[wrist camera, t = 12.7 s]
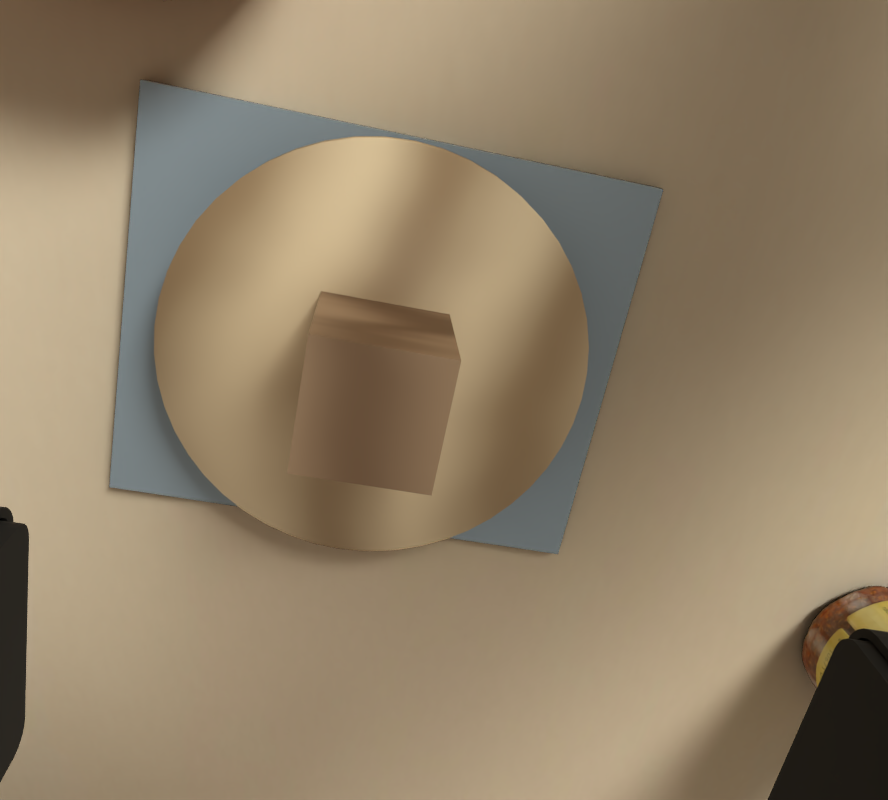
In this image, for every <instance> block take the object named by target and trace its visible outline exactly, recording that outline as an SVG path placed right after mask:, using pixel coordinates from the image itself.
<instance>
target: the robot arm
mask: <svg viewBox="0 0 888 800" xmlns="http://www.w3.org/2000/svg"><path fill="white" fill-rule="evenodd" d="M28 552H29V533H28V528H27V526H26V525H25V524H22V523H15V522H13V516H12V513H11V511H10V510H9V509H8V508H6V507H0V782H1V780H2V778H3V776H4V774H5V773H6V771H7V769H8V767H9V765H10V763H11V762H12V760H13V758H14V756H15V754H16V752H17V749H18V747H19V744H20V741H21V737H22V734H23V729H24V722H25V690H26V644H27V598H28ZM768 800H888V632H886V631H879V630H872V629H865V628H863V629H858V630H856V631H855V632H853V633H852V634H851V635H850V637H849V638H847V639H842V640H841V641H840V642H838V644H837V645H836V647H835V648H834V651H833V653H832V655H831V657H830V660H829V662H828V664H827V666H826V669H825V671H824V673H823V676H822V678H821V680H820V682H819V685H818V687H817V689H816V691H815V694H814V696H813V698H812V700H811V703H810V705H809V707H808V710H807V712H806V714H805V716H804V719H803V721H802V723H801V725H800V728H799V730H798V732H797V734H796V737H795V739H794V741H793V744H792V746H791V748H790V750H789V753H788V755H787V757H786V759H785V762H784V764H783V766H782V768H781V771H780V773H779V775H778V778H777V780H776V782H775V784H774V787H773V789H772V791H771V793H770V796H769V798H768Z"/></svg>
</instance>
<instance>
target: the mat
mask: <svg viewBox="0 0 888 800" xmlns="http://www.w3.org/2000/svg"><path fill="white" fill-rule="evenodd" d="M354 136H386V137H393V138H400V139H408V140H415V141H418V142H422V143H426V144H429V145H433V146H436V147H440V148H443V149H446V150H448V151H450V152H453V153H455V154H457V155H460V156H462V157H464V158H467V159H469V160H471V161H473V162H474V163H476V164H478V165H479V166H481V167H483V168H484V169H486V170H488V171H489V172H491V173H493V174H494V175H496V176H497V177H498V178H500V179H501V180H502V181H503V182H505V183H506V184H507V185H508V186H510V187H511V188H512V189H513V190H514V191H516V192H517V193H518V194H519V195H520V196H521V197H522V198H523V199H524V200H525V201H526V202H527V203H528V204H529V205H530V206H531V207H532V208H533V209H534V210H535V211H536V212H537V214H538V215H539V216H540V217H541V218H542V219H543V220H544V222H545V223H546V224H547V226H548V227H549V229H550V230H551V231H552V233H553V234H554V236H555V237H556V239H557V240H558V241H559V243H560V245H561V247H562V249H563V251H564V253H565V254H566V256H567V258H568V260H569V262H570V264H571V266H572V268H573V271H574V274H575V277H576V279H577V282H578V285H579V288H580V291H581V293H582V298H583V303H584V308H585V313H586V317H587V326H588V341H589V353H588V367H587V376H586V381H585V386H584V391H583V396H582V400H581V403H580V406H579V408H578V411H577V414H576V417H575V420H574V423H573V425H572V427H571V429H570V431H569V433H568V435H567V437H566V439H565V441H564V443H563V445H562V447H561V448H560V450H559V451H558V453H557V454H556V456H555V457H554V459H553V460H552V462H551V463H550V465H549V466H548V467H547V469H546V470H545V471H544V472H543V473H542V474H541V476H540V477H539V478H538V479H537V480H536V481H535V482H534V484H533V485H532V486H531V487H530V488H529V489H528V490H527V491H525V492H524V493H523V494H522V495H521V496H520V497H519V498H518V499H516V500H515V501H514V502H513V503H512V504H511V505H509V506H508V507H506V508H505V509H504V510H502V511H501V512H499V513H498V514H496V515H495V516H493V517H492V518H491V519H489V520H487V521H485V522H483V523H481V524H479V525H478V526H476V527H474V528H472V529H470V530H468V531H466V532H463V533H461V534H458V535H456V536H453V537H450V538H453V539H460V540H467V541H473V542H480V543H487V544H494V545H500V546H507V547H514V548H520V549H527V550H534V551H540V552H547V553H554V554H558V552H559V549H560V545H561V542H562V539H563V535H564V532H565V528H566V525H567V521H568V518H569V514H570V511H571V507H572V504H573V500H574V497H575V494H576V490H577V487H578V483H579V480H580V476H581V473H582V469H583V466H584V462H585V459H586V455H587V452H588V449H589V445H590V442H591V438H592V435H593V431H594V428H595V424H596V421H597V417H598V414H599V410H600V407H601V404H602V400H603V397H604V393H605V390H606V386H607V383H608V379H609V376H610V372H611V369H612V365H613V362H614V359H615V355H616V352H617V348H618V345H619V341H620V338H621V334H622V331H623V327H624V324H625V320H626V317H627V314H628V310H629V307H630V303H631V300H632V296H633V293H634V289H635V286H636V282H637V279H638V275H639V272H640V269H641V265H642V262H643V258H644V255H645V251H646V248H647V244H648V241H649V237H650V234H651V230H652V227H653V224H654V220H655V217H656V213H657V210H658V206H659V203H660V199H661V196H662V192H663V189H661V188H657V187H653V186H648V185H643V184H638V183H634V182H629V181H624V180H619V179H615V178H610V177H605V176H600V175H596V174H591V173H586V172H581V171H577V170H572V169H567V168H562V167H558V166H553V165H548V164H543V163H538V162H534V161H529V160H524V159H519V158H515V157H510V156H505V155H500V154H496V153H491V152H486V151H481V150H477V149H472V148H467V147H462V146H458V145H453V144H448V143H443V142H439V141H434V140H429V139H424V138H420V137H415V136H410V135H405V134H401V133H396V132H391V131H386V130H381V129H377V128H372V127H367V126H362V125H358V124H353V123H348V122H343V121H339V120H334V119H329V118H324V117H320V116H315V115H310V114H305V113H301V112H296V111H291V110H286V109H282V108H277V107H272V106H267V105H263V104H258V103H253V102H248V101H244V100H239V99H234V98H229V97H224V96H220V95H215V94H210V93H205V92H201V91H196V90H191V89H186V88H182V87H177V86H172V85H167V84H163V83H158V82H153V81H148V80H140V90H139V103H138V116H137V129H136V143H135V156H134V169H133V182H132V195H131V209H130V222H129V235H128V248H127V261H126V275H125V288H124V301H123V314H122V327H121V340H120V354H119V367H118V380H117V393H116V406H115V420H114V433H113V446H112V459H111V472H110V486H109V487H112V488H118V489H125V490H132V491H138V492H145V493H152V494H158V495H165V496H172V497H179V498H185V499H192V500H199V501H205V502H212V503H219V504H225V505H232V506H237V505H236V504H235V503H233V502H232V501H231V500H229V499H228V498H227V497H226V496H224V495H223V494H222V493H221V492H220V491H219V490H218V489H217V488H216V487H215V486H214V485H213V484H212V483H211V482H210V481H209V480H208V479H207V478H206V477H205V476H204V474H203V473H202V472H201V471H200V469H199V468H198V467H197V465H196V464H195V463H194V461H193V460H192V459H191V457H190V456H189V455H188V453H187V452H186V450H185V448H184V446H183V445H182V443H181V441H180V440H179V438H178V436H177V434H176V433H175V431H174V428H173V426H172V424H171V421H170V419H169V416H168V414H167V412H166V409H165V407H164V403H163V400H162V396H161V392H160V388H159V385H158V381H157V373H156V365H155V357H154V325H155V319H156V313H157V306H158V300H159V296H160V293H161V289H162V286H163V283H164V280H165V277H166V273H167V270H168V268H169V266H170V264H171V262H172V260H173V258H174V256H175V254H176V252H177V249H178V247H179V245H180V244H181V242H182V241H183V239H184V238H185V236H186V235H187V233H188V232H189V230H190V229H191V227H192V226H193V224H194V223H195V221H196V220H197V219H198V218H199V217H200V216H201V215H202V213H203V212H204V211H205V210H206V209H207V208H208V207H209V206H210V205H211V203H212V202H213V201H214V200H215V199H216V198H217V197H218V196H220V195H221V194H222V193H223V192H224V191H226V190H227V189H228V188H229V187H230V186H232V185H233V184H234V183H235V182H236V181H238V180H239V179H240V178H242V177H243V176H244V175H246V174H248V173H249V172H251V171H253V170H254V169H256V168H257V167H259V166H261V165H262V164H264V163H266V162H267V161H269V160H271V159H273V158H276V157H278V156H280V155H282V154H285V153H287V152H289V151H292V150H294V149H296V148H300V147H303V146H307V145H311V144H314V143H318V142H321V141H325V140H332V139H339V138H346V137H354Z"/></svg>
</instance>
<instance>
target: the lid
mask: <svg viewBox="0 0 888 800" xmlns="http://www.w3.org/2000/svg"><path fill="white" fill-rule="evenodd" d="M588 353H589V341H588V326H587V317H586V313H585V308H584V303H583V298H582V293H581V291H580V288H579V285H578V282H577V279H576V277H575V274H574V271H573V268H572V266H571V264H570V262H569V260H568V258H567V256H566V254H565V253H564V251H563V249H562V247H561V245H560V243H559V241H558V240H557V239H556V237H555V236H554V234H553V233H552V231H551V230H550V229H549V227H548V226H547V224H546V223H545V222H544V220H543V219H542V218H541V217H540V216H539V215H538V214H537V212H536V211H535V210H534V209H533V208H532V207H531V206H530V205H529V204H528V203H527V202H526V201H525V200H524V199H523V198H522V197H521V196H520V195H519V194H518V193H517V192H516V191H514V190H513V189H512V188H511V187H510V186H508V185H507V184H506V183H505V182H503V181H502V180H501V179H500V178H498V177H497V176H496V175H494V174H493V173H491V172H489V171H488V170H486V169H484V168H483V167H481V166H479V165H478V164H476V163H474V162H473V161H471V160H469V159H467V158H464V157H462V156H460V155H457V154H455V153H453V152H450V151H448V150H446V149H443V148H440V147H436V146H433V145H429V144H426V143H422V142H418V141H415V140H408V139H400V138H393V137H386V136H354V137H346V138H339V139H332V140H325V141H321V142H318V143H314V144H311V145H307V146H303V147H300V148H296V149H294V150H292V151H289V152H287V153H285V154H282V155H280V156H278V157H276V158H273V159H271V160H269V161H267V162H266V163H264V164H262V165H261V166H259V167H257V168H256V169H254V170H253V171H251V172H249V173H248V174H246V175H244V176H243V177H242V178H240V179H239V180H238V181H236V182H235V183H234V184H233V185H232V186H230V187H229V188H228V189H227V190H226V191H224V192H223V193H222V194H221V195H220V196H218V197H217V198H216V199H215V200H214V201H213V202H212V203H211V205H210V206H209V207H208V208H207V209H206V210H205V211H204V212H203V213H202V215H201V216H200V217H199V218H198V219H197V220H196V221H195V223H194V224H193V226H192V227H191V229H190V230H189V232H188V233H187V235H186V236H185V238H184V239H183V241H182V242H181V244H180V245H179V247H178V249H177V252H176V254H175V256H174V258H173V260H172V262H171V264H170V266H169V268H168V270H167V273H166V277H165V280H164V283H163V286H162V289H161V293H160V296H159V300H158V306H157V313H156V319H155V325H154V357H155V365H156V373H157V381H158V385H159V388H160V392H161V396H162V400H163V403H164V407H165V409H166V412H167V414H168V416H169V419H170V421H171V424H172V426H173V428H174V431H175V433H176V434H177V436H178V438H179V440H180V441H181V443H182V445H183V446H184V448H185V450H186V452H187V453H188V455H189V456H190V457H191V459H192V460H193V461H194V463H195V464H196V465H197V467H198V468H199V469H200V471H201V472H202V473H203V474H204V476H205V477H206V478H207V479H208V480H209V481H210V482H211V483H212V484H213V485H214V486H215V487H216V488H217V489H218V490H219V491H220V492H221V493H222V494H223V495H224V496H226V497H227V498H228V499H229V500H231V501H232V502H233V503H235V504H236V505H237V506H238V507H240V508H241V509H242V510H243V511H245V512H247V513H248V514H250V515H251V516H253V517H255V518H256V519H258V520H260V521H261V522H263V523H265V524H266V525H268V526H271V527H273V528H275V529H277V530H279V531H281V532H284V533H286V534H288V535H290V536H293V537H296V538H299V539H302V540H305V541H309V542H312V543H315V544H319V545H324V546H329V547H334V548H339V549H348V550H360V551H389V550H399V549H406V548H413V547H419V546H423V545H427V544H431V543H435V542H439V541H442V540H445V539H448V538H450V537H453V536H456V535H458V534H461V533H463V532H466V531H468V530H470V529H472V528H474V527H476V526H478V525H479V524H481V523H483V522H485V521H487V520H489V519H491V518H492V517H493V516H495V515H496V514H498V513H499V512H501V511H502V510H504V509H505V508H506V507H508V506H509V505H511V504H512V503H513V502H514V501H515V500H516V499H518V498H519V497H520V496H521V495H522V494H523V493H524V492H525V491H527V490H528V489H529V488H530V487H531V486H532V485H533V484H534V482H535V481H536V480H537V479H538V478H539V477H540V476H541V474H542V473H543V472H544V471H545V470H546V469H547V467H548V466H549V465H550V463H551V462H552V460H553V459H554V457H555V456H556V454H557V453H558V451H559V450H560V448H561V447H562V445H563V443H564V441H565V439H566V437H567V435H568V433H569V431H570V429H571V427H572V425H573V423H574V420H575V417H576V414H577V411H578V408H579V406H580V403H581V400H582V396H583V391H584V386H585V381H586V376H587V367H588Z"/></svg>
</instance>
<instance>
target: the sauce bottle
mask: <svg viewBox="0 0 888 800" xmlns="http://www.w3.org/2000/svg"><path fill="white" fill-rule="evenodd" d="M863 628H865V629H872V630H879V631H886V632H888V587H886V588H885V587H882V586H868V587H866V588H864V589H860V590H857V591H854V592H852V593H850V594H848V595H846V596H844V597H842V598H840V599H838V600H836V601H834V602H833V603H831V604H829V605H828V606H827V607H825V608H824V609H823V610H822V611H821V612H820V613H819V614H818V615H817V617H816V618H815V619H814V620H813V621H812V624H811V626H810V627H809V630H808V634H807V635H806V637H805V638H804V642H803V650H802V660H803V664H804V666H805V668H806V670H807V673H808V675H809V678H810V679H811V681H812V683H813V684H814V686H815V687H816V688H817V687H818V685H819V682H820V680H821V678H822V676H823V673H824V671H825V669H826V666H827V664H828V662H829V660H830V657H831V655H832V653H833V651H834V648H835V647H836V645H837V644H838V642H840V641H841V640H842V639H847V638H849V637H850V635H851V634H852V633H853V632H855V631H856V630H858V629H863Z"/></svg>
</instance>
